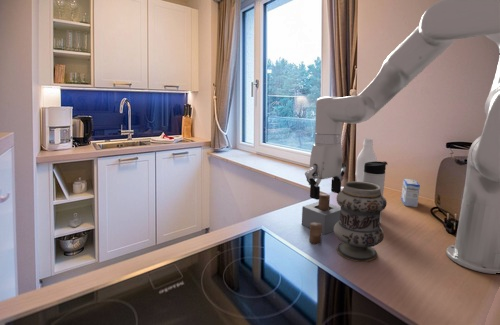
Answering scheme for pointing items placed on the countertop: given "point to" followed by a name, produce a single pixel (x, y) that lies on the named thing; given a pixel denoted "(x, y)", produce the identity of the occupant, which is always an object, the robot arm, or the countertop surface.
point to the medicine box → (410, 192)
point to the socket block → (321, 216)
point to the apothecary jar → (359, 220)
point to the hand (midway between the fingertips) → (325, 195)
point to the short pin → (315, 233)
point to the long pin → (324, 202)
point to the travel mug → (375, 174)
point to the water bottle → (365, 158)
